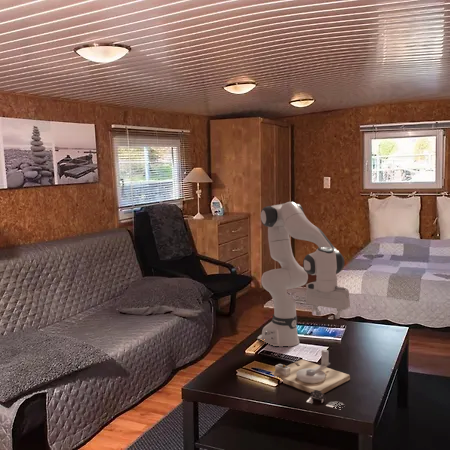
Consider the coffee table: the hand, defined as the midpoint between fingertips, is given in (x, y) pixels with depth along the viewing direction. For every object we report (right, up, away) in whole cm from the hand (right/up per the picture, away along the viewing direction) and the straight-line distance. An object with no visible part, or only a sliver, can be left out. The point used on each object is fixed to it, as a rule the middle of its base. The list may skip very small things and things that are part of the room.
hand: (327, 316), depth 225 cm
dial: (-5, -24, -3) cm, 25 cm away
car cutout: (-5, -30, -23) cm, 38 cm away
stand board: (-8, -26, -1) cm, 28 cm away
